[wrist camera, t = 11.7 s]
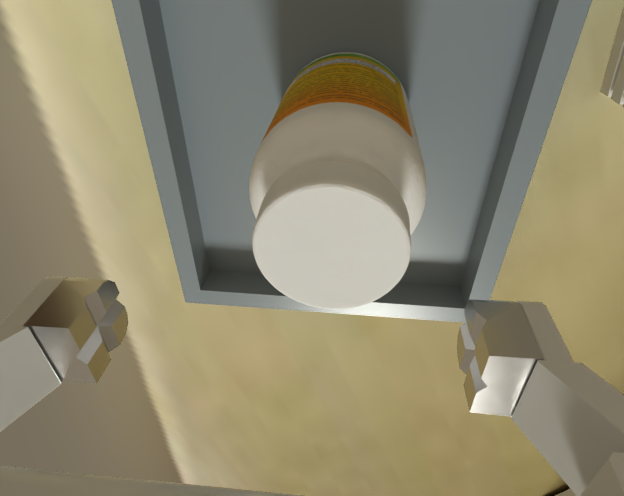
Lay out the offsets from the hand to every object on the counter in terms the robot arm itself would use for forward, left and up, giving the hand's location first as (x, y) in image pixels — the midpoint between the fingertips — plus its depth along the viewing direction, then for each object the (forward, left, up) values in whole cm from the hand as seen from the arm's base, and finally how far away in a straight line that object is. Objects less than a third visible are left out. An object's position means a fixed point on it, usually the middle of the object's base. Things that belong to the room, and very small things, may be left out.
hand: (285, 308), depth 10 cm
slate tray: (-1, 0, -12) cm, 12 cm away
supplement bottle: (-1, 0, -11) cm, 11 cm away
